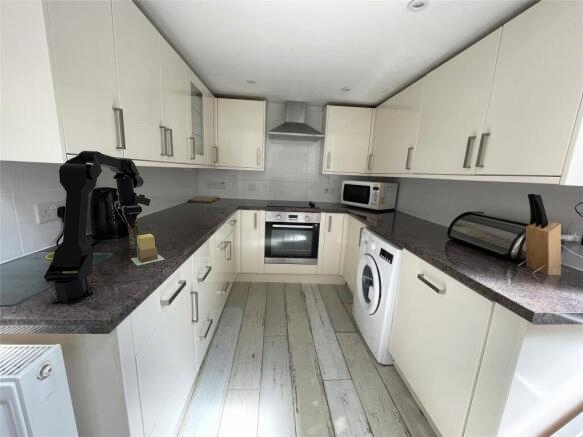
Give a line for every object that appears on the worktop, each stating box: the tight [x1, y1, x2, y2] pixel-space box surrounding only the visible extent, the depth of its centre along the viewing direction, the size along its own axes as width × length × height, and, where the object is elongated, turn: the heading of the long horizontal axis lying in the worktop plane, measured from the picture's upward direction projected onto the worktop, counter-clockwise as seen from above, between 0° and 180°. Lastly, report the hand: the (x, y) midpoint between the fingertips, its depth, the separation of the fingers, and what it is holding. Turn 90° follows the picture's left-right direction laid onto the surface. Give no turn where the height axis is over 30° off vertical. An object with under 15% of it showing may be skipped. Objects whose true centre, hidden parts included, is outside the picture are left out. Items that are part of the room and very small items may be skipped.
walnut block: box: [136, 246, 158, 263], centre depth 97 cm, size 6×6×5 cm
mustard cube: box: [136, 233, 156, 250], centre depth 96 cm, size 5×5×5 cm
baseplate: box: [130, 254, 165, 266], centre depth 98 cm, size 10×10×1 cm
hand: (129, 226), depth 100 cm, fingers open, 9 cm apart
